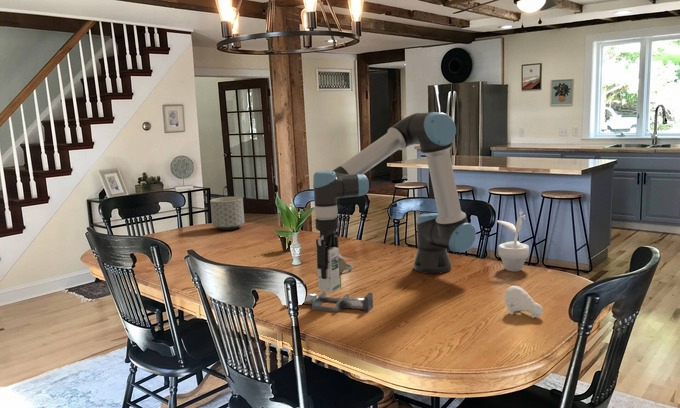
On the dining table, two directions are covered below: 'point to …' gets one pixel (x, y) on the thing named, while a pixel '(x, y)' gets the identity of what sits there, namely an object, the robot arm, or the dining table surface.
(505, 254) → the potted plant
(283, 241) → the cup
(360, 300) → the coupling cradle
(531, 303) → the white lumpy piece
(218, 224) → the planter
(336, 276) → the syrup box
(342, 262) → the ceramic mug
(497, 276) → the dining table surface
